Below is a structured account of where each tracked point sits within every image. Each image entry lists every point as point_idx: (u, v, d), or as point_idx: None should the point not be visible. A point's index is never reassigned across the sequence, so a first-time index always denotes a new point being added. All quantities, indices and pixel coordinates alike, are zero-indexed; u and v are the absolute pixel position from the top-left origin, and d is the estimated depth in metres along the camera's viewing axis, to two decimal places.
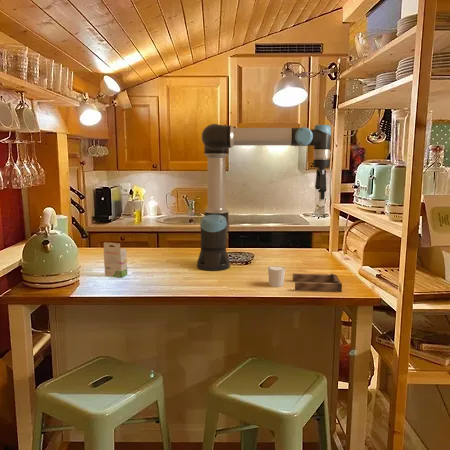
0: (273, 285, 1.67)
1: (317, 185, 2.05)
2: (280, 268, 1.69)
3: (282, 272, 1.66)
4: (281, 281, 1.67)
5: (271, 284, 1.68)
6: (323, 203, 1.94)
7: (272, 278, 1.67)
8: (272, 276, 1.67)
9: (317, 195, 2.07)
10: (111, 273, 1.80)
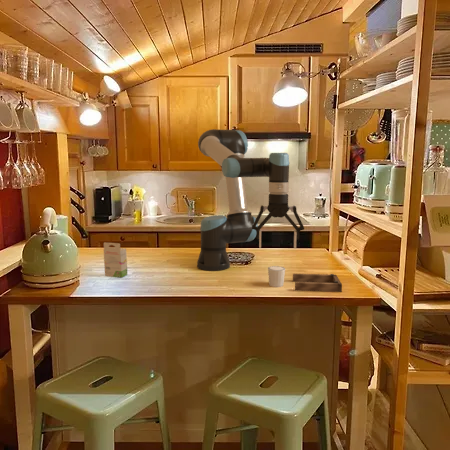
0: (273, 285, 1.67)
1: None
2: (280, 268, 1.69)
3: (282, 272, 1.66)
4: (281, 281, 1.67)
5: (271, 284, 1.68)
6: (259, 244, 1.67)
7: (272, 278, 1.67)
8: (272, 276, 1.67)
9: None
10: (111, 273, 1.80)
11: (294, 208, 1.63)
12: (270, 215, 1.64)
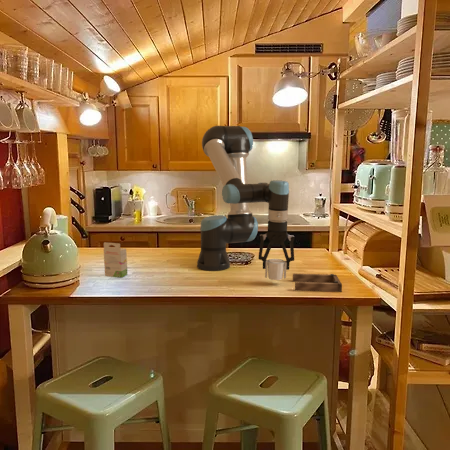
0: (272, 278, 1.68)
1: None
2: (279, 261, 1.69)
3: (281, 265, 1.66)
4: (280, 274, 1.67)
5: (270, 277, 1.68)
6: (265, 273, 1.69)
7: (271, 271, 1.67)
8: (271, 269, 1.67)
9: None
10: (111, 273, 1.80)
11: (292, 238, 1.65)
12: (271, 243, 1.66)
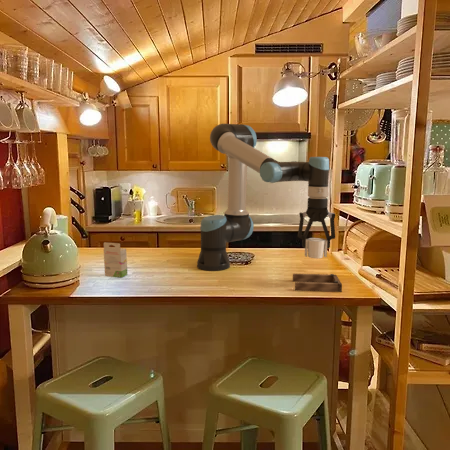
0: (313, 256, 1.64)
1: None
2: (320, 239, 1.65)
3: (322, 243, 1.63)
4: (321, 252, 1.64)
5: (311, 255, 1.65)
6: (305, 253, 1.66)
7: (312, 249, 1.64)
8: (312, 247, 1.63)
9: (324, 247, 1.66)
10: (111, 273, 1.80)
11: (333, 215, 1.62)
12: (311, 221, 1.63)
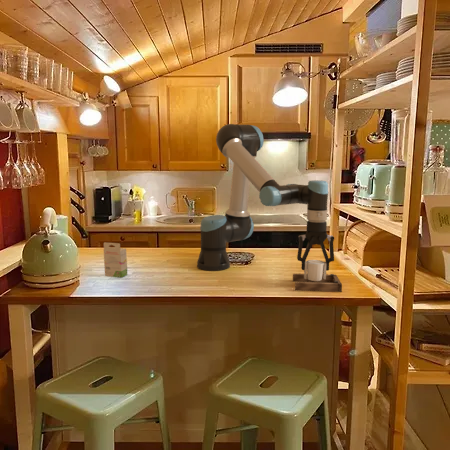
0: (312, 279, 1.66)
1: None
2: (319, 262, 1.67)
3: (321, 265, 1.64)
4: (320, 275, 1.65)
5: (310, 278, 1.66)
6: (304, 275, 1.68)
7: (311, 272, 1.65)
8: (311, 270, 1.65)
9: (323, 269, 1.68)
10: (111, 273, 1.80)
11: (332, 238, 1.64)
12: (310, 244, 1.64)
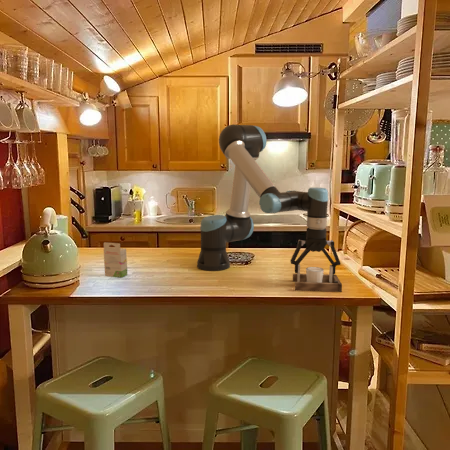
0: None
1: None
2: (318, 269, 1.67)
3: (321, 273, 1.65)
4: (320, 282, 1.66)
5: None
6: (297, 278, 1.68)
7: (311, 279, 1.66)
8: (311, 277, 1.65)
9: (329, 272, 1.68)
10: (111, 273, 1.80)
11: (332, 243, 1.64)
12: (308, 250, 1.65)
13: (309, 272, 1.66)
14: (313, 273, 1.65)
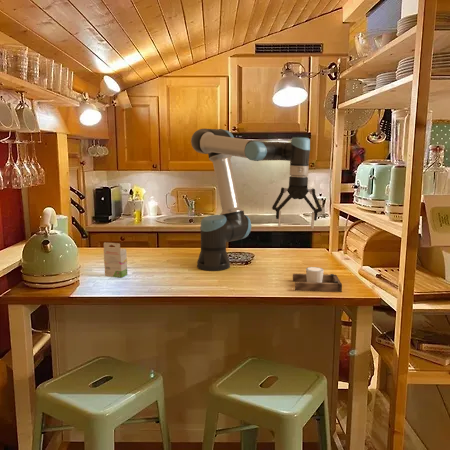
0: None
1: None
2: (318, 269, 1.67)
3: (321, 273, 1.65)
4: (320, 282, 1.66)
5: None
6: (278, 223, 1.76)
7: (311, 279, 1.66)
8: (311, 277, 1.65)
9: None
10: (111, 273, 1.80)
11: (313, 191, 1.72)
12: (290, 197, 1.73)
13: (309, 272, 1.65)
14: (313, 273, 1.65)
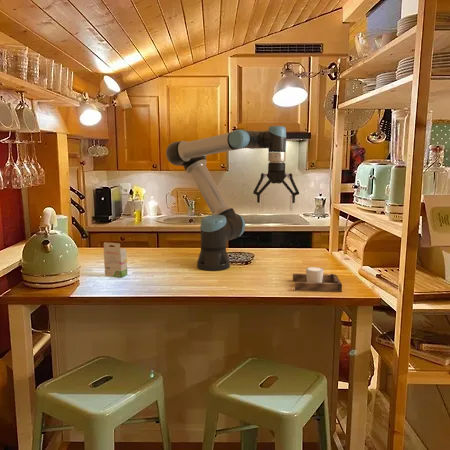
0: None
1: None
2: (318, 269, 1.67)
3: (321, 273, 1.65)
4: (320, 282, 1.66)
5: None
6: None
7: (311, 279, 1.66)
8: (311, 277, 1.65)
9: (290, 202, 1.89)
10: (111, 273, 1.80)
11: (290, 175, 1.86)
12: (269, 181, 1.86)
13: (309, 272, 1.66)
14: (313, 273, 1.65)
